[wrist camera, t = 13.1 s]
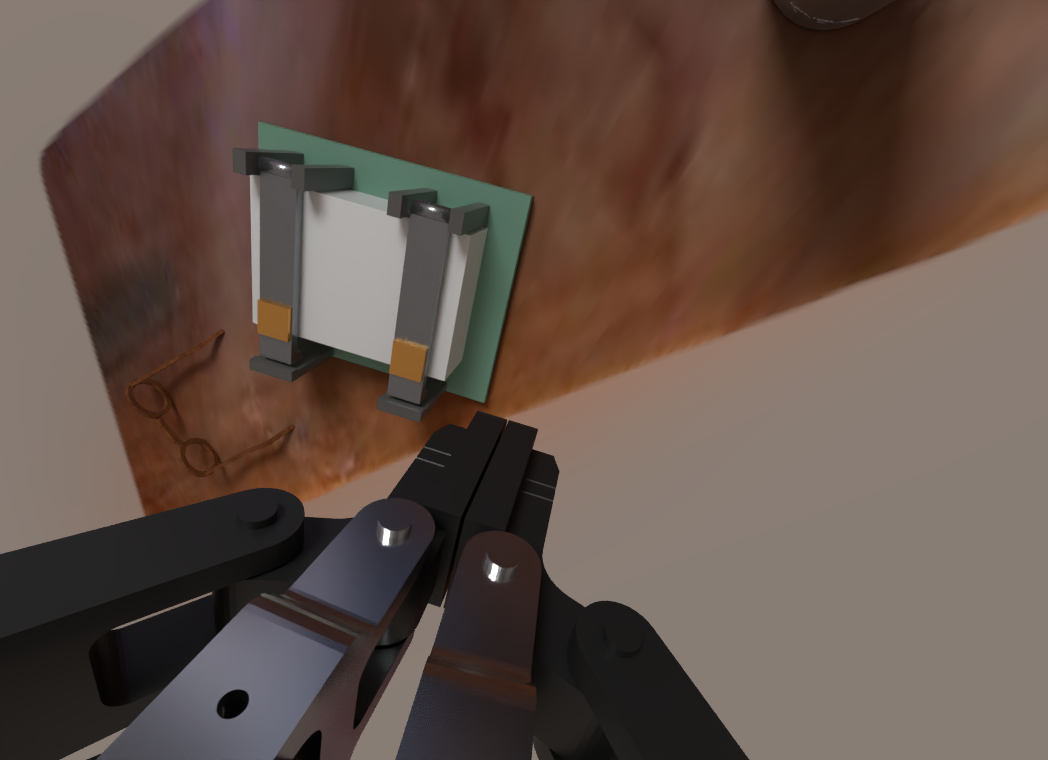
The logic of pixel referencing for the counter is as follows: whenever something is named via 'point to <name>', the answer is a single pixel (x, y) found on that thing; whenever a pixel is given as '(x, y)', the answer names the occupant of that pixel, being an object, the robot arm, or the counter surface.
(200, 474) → the glasses
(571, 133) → the counter surface
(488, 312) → the base
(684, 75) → the counter surface
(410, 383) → the strap
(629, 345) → the counter surface
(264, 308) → the strap
